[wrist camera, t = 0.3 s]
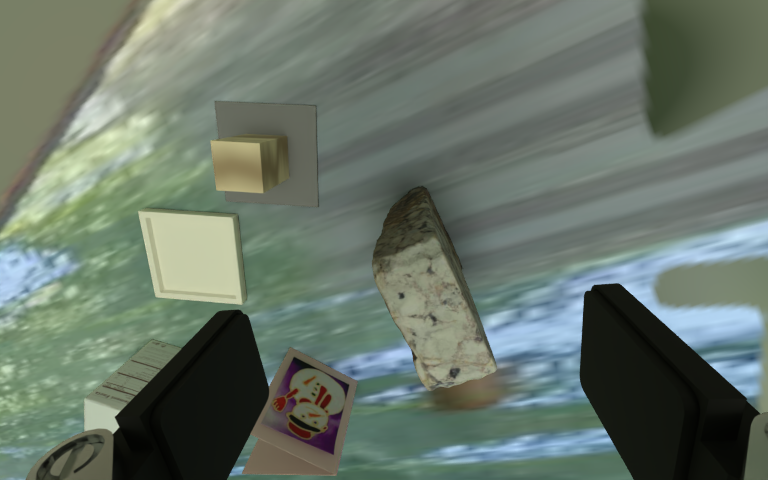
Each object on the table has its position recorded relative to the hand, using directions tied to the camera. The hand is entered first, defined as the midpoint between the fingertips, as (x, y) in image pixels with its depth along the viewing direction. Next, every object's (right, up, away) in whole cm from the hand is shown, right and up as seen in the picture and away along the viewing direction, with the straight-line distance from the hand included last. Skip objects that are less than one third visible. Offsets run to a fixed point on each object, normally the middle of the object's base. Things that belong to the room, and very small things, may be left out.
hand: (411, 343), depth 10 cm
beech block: (-15, +13, +34) cm, 40 cm away
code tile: (-15, +13, +35) cm, 40 cm away
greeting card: (-11, -18, +46) cm, 51 cm away
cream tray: (-26, +1, +40) cm, 48 cm away
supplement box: (-34, -16, +48) cm, 61 cm away
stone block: (+5, +3, +37) cm, 37 cm away
